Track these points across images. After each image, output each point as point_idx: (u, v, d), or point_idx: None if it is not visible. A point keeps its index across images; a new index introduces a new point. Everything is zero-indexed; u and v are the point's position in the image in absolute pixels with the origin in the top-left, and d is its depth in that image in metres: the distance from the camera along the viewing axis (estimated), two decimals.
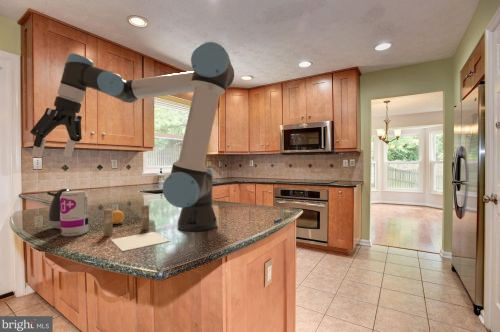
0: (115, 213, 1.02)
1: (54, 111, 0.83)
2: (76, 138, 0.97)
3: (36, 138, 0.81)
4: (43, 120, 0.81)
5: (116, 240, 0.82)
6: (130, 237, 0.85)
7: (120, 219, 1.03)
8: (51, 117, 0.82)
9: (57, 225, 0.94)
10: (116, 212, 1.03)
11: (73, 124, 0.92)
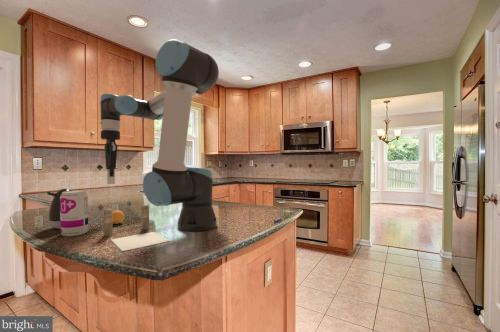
0: (115, 213, 1.02)
1: (117, 147, 1.07)
2: None
3: (111, 170, 1.10)
4: (113, 156, 1.08)
5: (116, 240, 0.82)
6: (130, 237, 0.85)
7: (120, 219, 1.03)
8: (116, 151, 1.08)
9: (57, 225, 0.94)
10: (116, 212, 1.03)
11: None
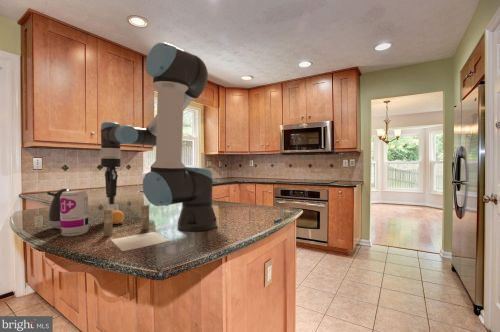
0: (115, 213, 1.02)
1: None
2: None
3: (111, 198, 1.10)
4: (113, 184, 1.08)
5: (116, 240, 0.82)
6: (130, 237, 0.85)
7: (120, 219, 1.03)
8: (116, 180, 1.09)
9: (57, 225, 0.94)
10: (116, 212, 1.03)
11: None
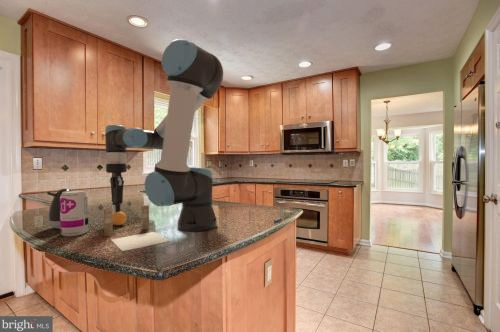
0: (117, 220, 0.99)
1: (123, 181, 1.01)
2: None
3: (117, 206, 1.03)
4: (119, 191, 1.01)
5: (116, 240, 0.82)
6: (130, 237, 0.85)
7: (121, 224, 1.02)
8: (122, 186, 1.02)
9: (57, 225, 0.94)
10: (119, 219, 0.99)
11: None
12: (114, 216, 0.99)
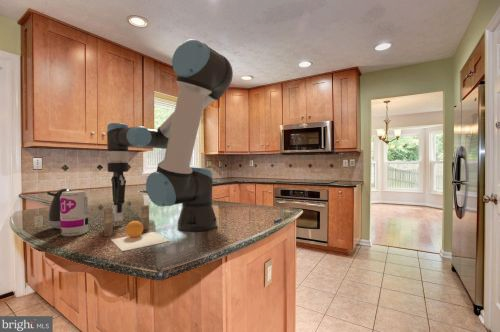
0: None
1: (125, 181, 0.98)
2: None
3: (118, 206, 1.00)
4: (121, 191, 0.98)
5: (116, 240, 0.82)
6: (130, 237, 0.85)
7: None
8: (124, 186, 0.99)
9: (57, 225, 0.94)
10: None
11: None
12: (129, 235, 0.83)
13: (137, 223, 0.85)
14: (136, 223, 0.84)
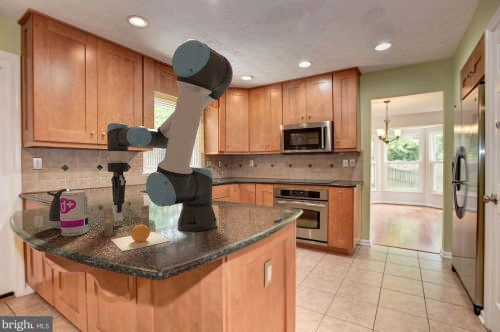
0: None
1: (125, 181, 0.98)
2: None
3: (118, 206, 1.00)
4: (121, 191, 0.98)
5: (116, 240, 0.82)
6: (130, 237, 0.85)
7: (143, 225, 0.81)
8: (124, 186, 0.99)
9: (57, 225, 0.94)
10: None
11: None
12: None
13: None
14: (141, 241, 0.80)
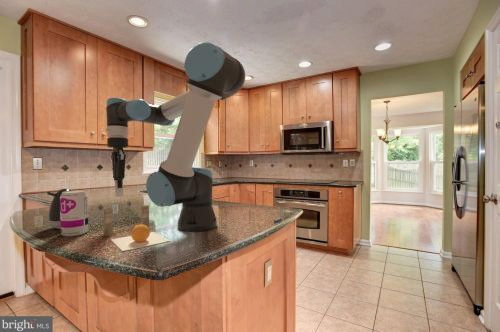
0: None
1: (125, 155, 0.98)
2: None
3: (119, 181, 1.00)
4: (121, 165, 0.98)
5: (116, 240, 0.82)
6: (130, 237, 0.85)
7: (143, 225, 0.81)
8: (124, 160, 0.99)
9: (57, 225, 0.94)
10: None
11: None
12: None
13: None
14: (141, 241, 0.80)
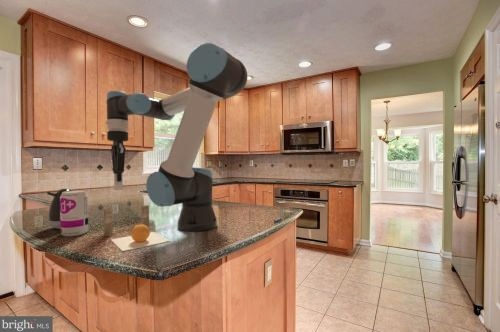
0: None
1: None
2: None
3: (118, 175, 1.00)
4: (121, 159, 0.98)
5: (116, 240, 0.82)
6: (130, 237, 0.85)
7: (143, 225, 0.81)
8: (124, 154, 0.99)
9: (57, 225, 0.94)
10: None
11: None
12: None
13: None
14: (141, 241, 0.80)
